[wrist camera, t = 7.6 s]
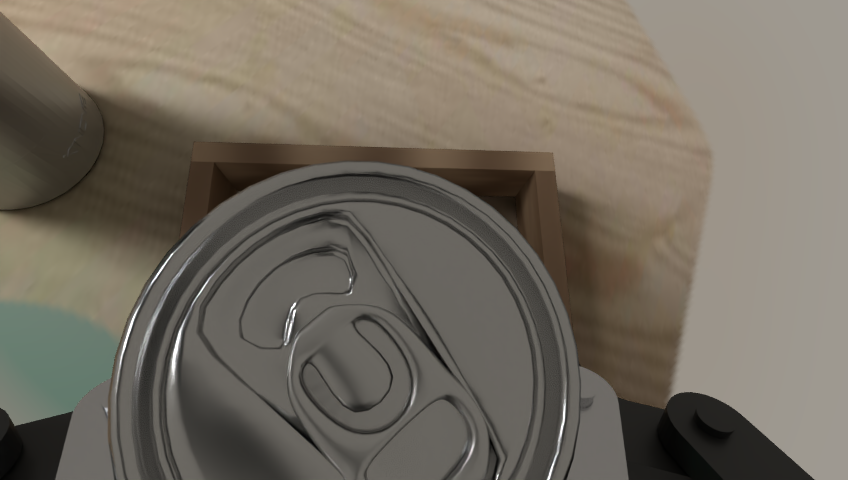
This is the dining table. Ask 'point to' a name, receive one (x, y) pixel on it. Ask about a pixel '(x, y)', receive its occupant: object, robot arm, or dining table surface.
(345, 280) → the soda can
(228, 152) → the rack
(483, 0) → the dining table surface
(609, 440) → the robot arm
